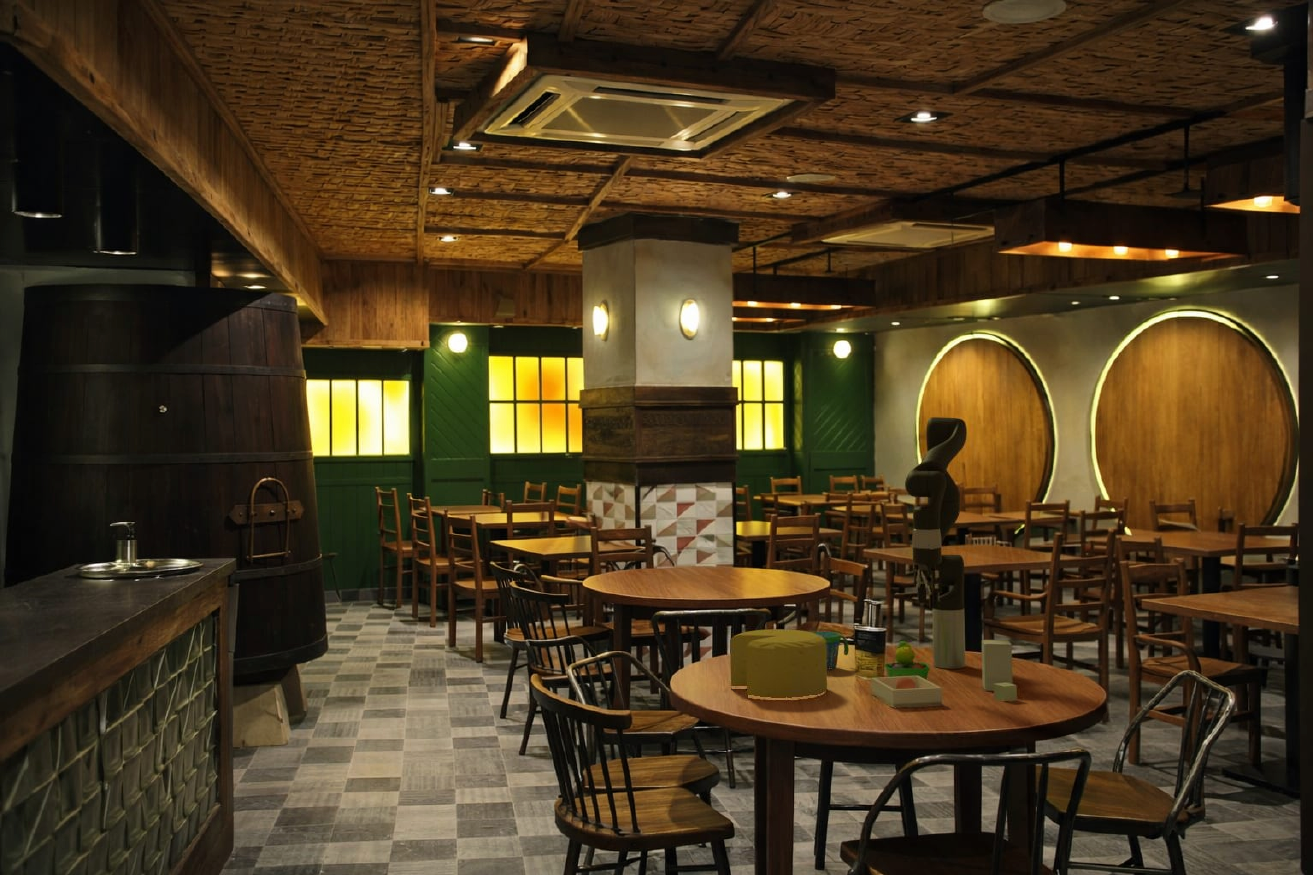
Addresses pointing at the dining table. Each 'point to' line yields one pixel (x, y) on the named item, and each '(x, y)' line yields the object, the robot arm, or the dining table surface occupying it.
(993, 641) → the supplement box
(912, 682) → the ball
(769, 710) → the dining table surface
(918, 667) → the fruit basket
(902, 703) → the bin
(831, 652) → the snack cup
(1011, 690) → the green block
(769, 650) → the cheese
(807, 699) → the dining table surface
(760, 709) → the dining table surface
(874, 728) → the dining table surface
